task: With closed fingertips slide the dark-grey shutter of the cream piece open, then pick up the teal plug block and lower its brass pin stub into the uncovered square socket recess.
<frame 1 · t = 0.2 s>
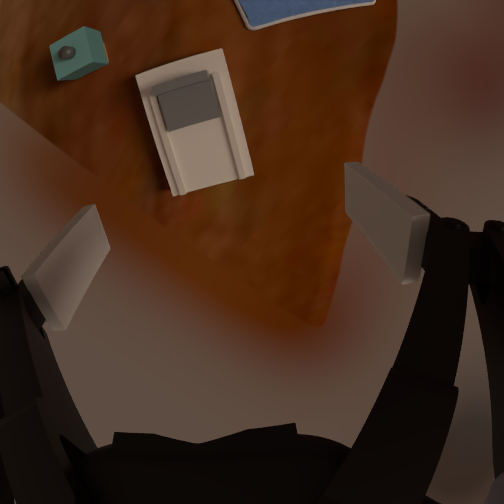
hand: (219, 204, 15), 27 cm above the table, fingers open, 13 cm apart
cream piece: (197, 120, 37), on the table
shutter: (186, 101, 32), point 5 cm above the table, slide at 0.0 cm
plug: (96, 56, 31), on the table
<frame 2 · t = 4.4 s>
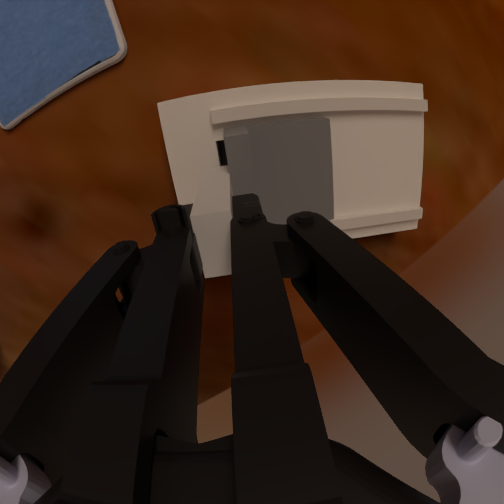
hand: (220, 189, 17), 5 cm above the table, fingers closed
cream piece: (299, 157, 21), on the table
shutter: (286, 180, 17), point 5 cm above the table, slide at 1.1 cm, touching gripper
blue flat panel: (36, 1, 12), on the table
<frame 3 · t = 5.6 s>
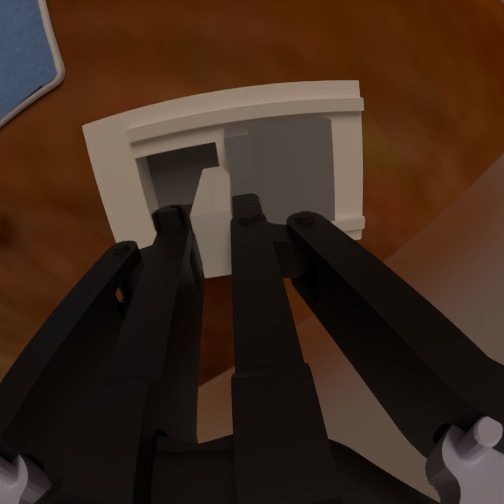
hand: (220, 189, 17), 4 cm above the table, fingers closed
cream piece: (229, 167, 21), on the table
shutter: (286, 181, 17), point 5 cm above the table, slide at 6.1 cm, touching gripper
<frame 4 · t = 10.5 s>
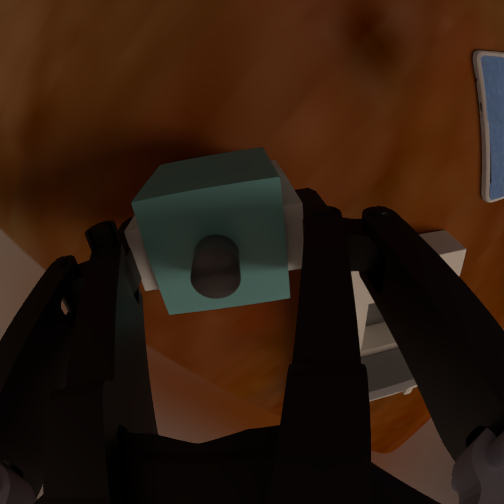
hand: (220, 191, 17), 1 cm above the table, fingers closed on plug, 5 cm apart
cream piece: (375, 323, 25), on the table
shutter: (387, 386, 22), point 5 cm above the table, slide at 6.2 cm
plug: (220, 184, 18), on the table, touching gripper
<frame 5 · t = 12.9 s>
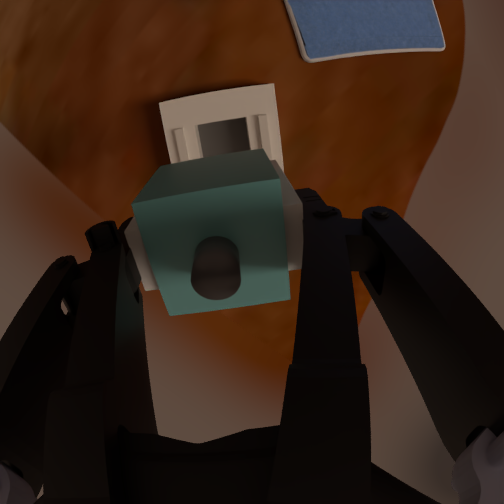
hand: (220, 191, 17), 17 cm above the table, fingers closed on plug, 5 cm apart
cream piece: (228, 166, 33), on the table
blue flat panel: (365, 5, 24), on the table
plug: (220, 185, 18), point 15 cm above the table, touching gripper
when the fingers open (3 cm above the table, at t = 15.6 s): plug stays where it is, point 1 cm above the table.
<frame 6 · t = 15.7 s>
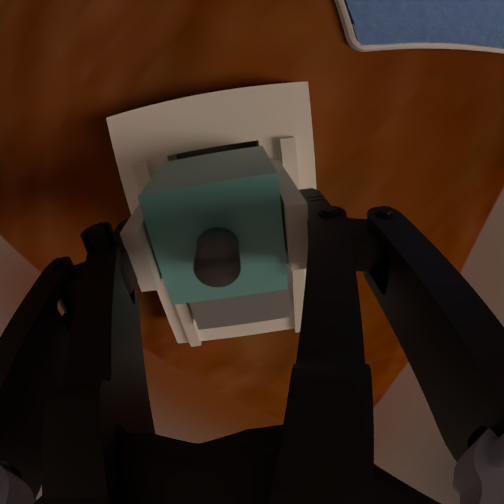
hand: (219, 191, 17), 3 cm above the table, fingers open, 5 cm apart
cream piece: (227, 216, 21), on the table
shutter: (237, 297, 19), point 5 cm above the table, slide at 6.2 cm
plug: (221, 181, 18), point 1 cm above the table
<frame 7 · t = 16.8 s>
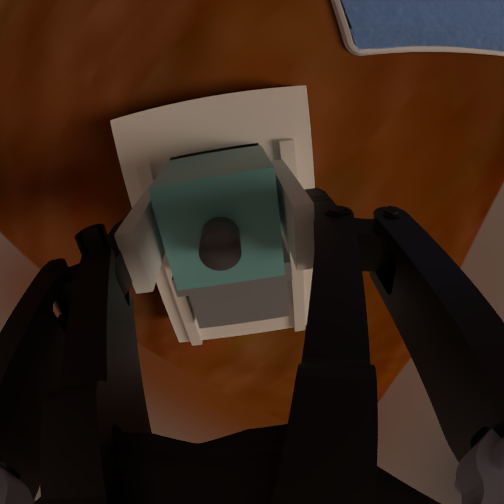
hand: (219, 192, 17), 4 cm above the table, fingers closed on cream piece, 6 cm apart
cream piece: (228, 217, 22), on the table
shutter: (237, 295, 19), point 5 cm above the table, slide at 6.2 cm
plug: (222, 179, 20), resting on cream piece
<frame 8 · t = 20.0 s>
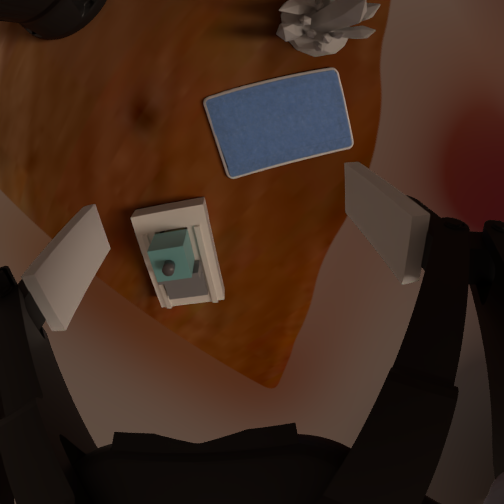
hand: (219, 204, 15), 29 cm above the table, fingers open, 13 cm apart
cream piece: (181, 251, 49), on the table
shutter: (183, 285, 46), point 5 cm above the table, slide at 6.2 cm
crystal: (312, 26, 33), on the table
blue flat panel: (281, 120, 40), on the table
plug: (177, 237, 47), resting on cream piece
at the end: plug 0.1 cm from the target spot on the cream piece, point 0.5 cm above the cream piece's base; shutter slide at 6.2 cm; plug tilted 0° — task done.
